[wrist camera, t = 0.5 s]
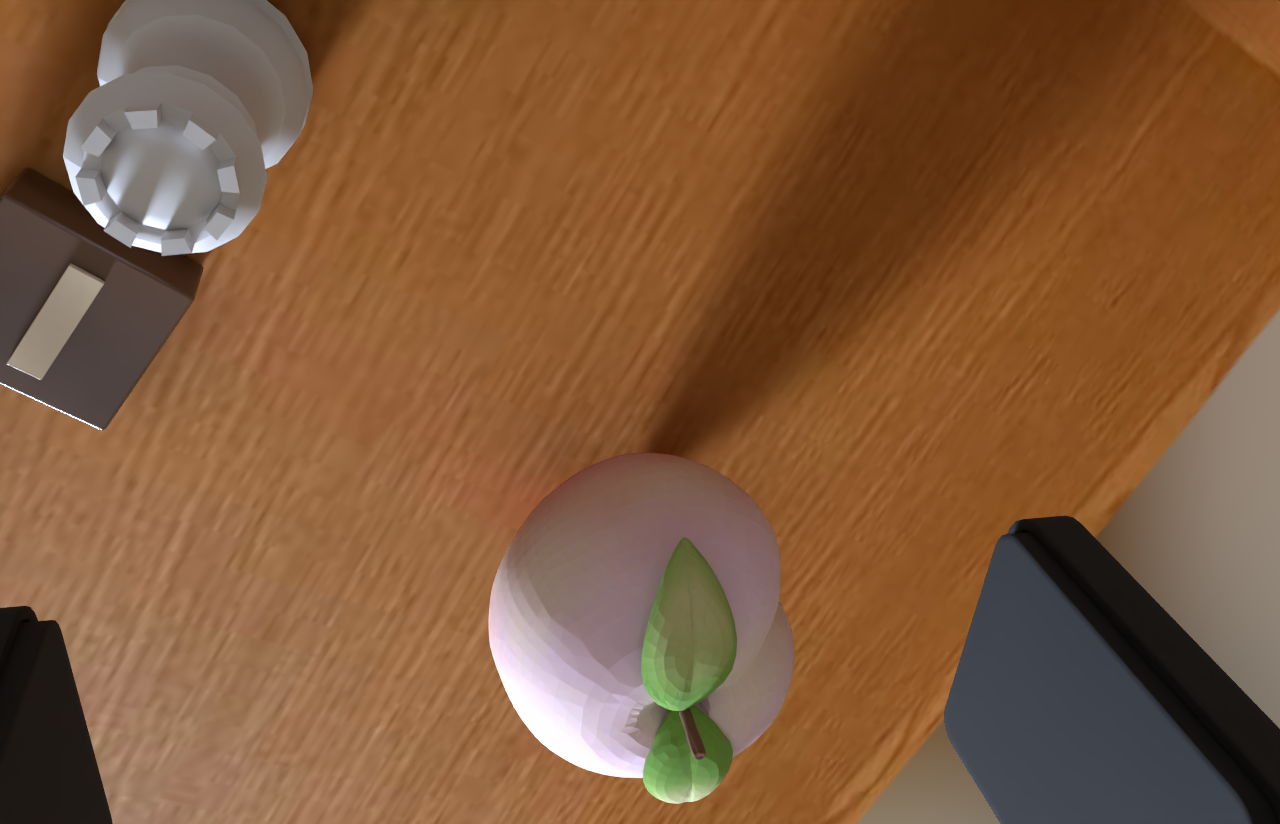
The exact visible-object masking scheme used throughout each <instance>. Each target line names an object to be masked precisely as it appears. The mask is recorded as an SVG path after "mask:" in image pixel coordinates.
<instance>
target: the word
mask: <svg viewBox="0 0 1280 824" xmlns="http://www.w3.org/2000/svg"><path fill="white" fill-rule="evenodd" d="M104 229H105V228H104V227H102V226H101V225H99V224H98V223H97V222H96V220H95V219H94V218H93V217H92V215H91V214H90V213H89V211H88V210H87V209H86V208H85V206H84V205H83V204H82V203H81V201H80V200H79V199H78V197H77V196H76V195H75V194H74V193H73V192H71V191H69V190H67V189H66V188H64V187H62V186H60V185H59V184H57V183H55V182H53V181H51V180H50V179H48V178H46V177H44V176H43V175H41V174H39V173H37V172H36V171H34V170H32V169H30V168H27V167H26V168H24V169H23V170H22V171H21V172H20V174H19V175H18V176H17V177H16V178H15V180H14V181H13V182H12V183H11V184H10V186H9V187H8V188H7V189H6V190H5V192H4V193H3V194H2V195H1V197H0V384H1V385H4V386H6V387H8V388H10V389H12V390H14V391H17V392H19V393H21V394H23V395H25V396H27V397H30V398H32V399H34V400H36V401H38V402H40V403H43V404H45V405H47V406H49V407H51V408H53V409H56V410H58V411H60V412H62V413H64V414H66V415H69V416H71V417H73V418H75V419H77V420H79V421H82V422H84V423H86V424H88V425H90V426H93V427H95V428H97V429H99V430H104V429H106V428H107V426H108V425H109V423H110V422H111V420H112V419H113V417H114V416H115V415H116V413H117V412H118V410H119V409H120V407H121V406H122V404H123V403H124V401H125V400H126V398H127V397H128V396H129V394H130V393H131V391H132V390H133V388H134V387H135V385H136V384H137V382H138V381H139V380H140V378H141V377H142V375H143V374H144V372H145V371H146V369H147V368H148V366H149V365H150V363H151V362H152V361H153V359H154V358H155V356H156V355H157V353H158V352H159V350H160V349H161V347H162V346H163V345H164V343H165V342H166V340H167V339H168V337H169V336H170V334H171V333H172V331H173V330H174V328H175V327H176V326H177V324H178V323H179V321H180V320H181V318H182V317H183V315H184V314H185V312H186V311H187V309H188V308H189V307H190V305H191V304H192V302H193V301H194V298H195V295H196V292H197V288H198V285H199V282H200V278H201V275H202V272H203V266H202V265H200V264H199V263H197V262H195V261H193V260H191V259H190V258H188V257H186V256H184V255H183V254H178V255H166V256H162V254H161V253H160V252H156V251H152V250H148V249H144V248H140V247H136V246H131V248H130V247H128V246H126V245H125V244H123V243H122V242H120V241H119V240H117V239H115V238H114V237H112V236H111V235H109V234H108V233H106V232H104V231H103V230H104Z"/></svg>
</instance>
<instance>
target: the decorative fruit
mask: <svg viewBox="0 0 1280 824" xmlns="http://www.w3.org/2000/svg"><path fill="white" fill-rule="evenodd" d="M780 576H781V568H780V552H779V548H778V545H777V541H776V537H775V534H774V531H773V529H772V527H771V526H770V524H769V522H768V520H767V519H766V517H765V515H764V513H763V512H762V511H761V509H760V508H759V507H758V506H757V505H756V503H755V502H754V501H753V500H752V499H751V498H750V496H749V495H748V494H747V493H746V492H745V491H744V490H742V489H741V488H740V487H739V486H737V485H736V484H735V483H734V482H732V481H731V480H730V479H729V478H727V477H725V476H724V475H722V474H720V473H718V472H717V471H715V470H713V469H711V468H709V467H708V466H705V465H702V464H700V463H697V462H695V461H692V460H690V459H686V458H682V457H678V456H674V455H667V454H659V453H634V454H624V455H621V456H617V457H613V458H610V459H607V460H604V461H601V462H599V463H597V464H594V465H592V466H590V467H588V468H586V469H584V470H582V471H580V472H579V473H577V474H575V475H574V476H572V477H571V478H569V479H568V480H566V481H565V482H564V483H562V484H561V485H560V486H558V487H557V488H556V489H555V490H554V491H552V492H551V493H550V494H549V495H548V496H546V497H545V498H544V499H543V500H542V501H541V502H540V503H539V504H538V505H537V507H536V508H535V509H534V510H533V511H532V512H531V514H530V515H529V516H528V518H527V519H526V520H525V522H524V523H523V525H522V526H521V527H520V529H519V530H518V532H517V534H516V535H515V537H514V539H513V540H512V542H511V544H510V546H509V548H508V550H507V551H506V553H505V555H504V558H503V560H502V562H501V564H500V566H499V569H498V571H497V574H496V577H495V580H494V584H493V587H492V592H491V599H490V608H489V640H490V647H491V651H492V654H493V658H494V661H495V664H496V667H497V669H498V672H499V674H500V677H501V680H502V682H503V685H504V687H505V689H506V692H507V694H508V696H509V698H510V700H511V702H512V704H513V706H514V708H515V709H516V711H517V713H518V714H519V716H520V717H521V719H522V720H523V722H524V723H525V724H526V726H527V727H528V728H529V729H530V731H531V732H532V733H533V735H534V736H535V737H536V738H537V739H538V740H539V741H540V742H541V743H542V744H544V745H545V746H546V747H547V748H549V749H550V750H551V751H552V752H554V753H555V754H557V755H559V756H560V757H562V758H564V759H565V760H567V761H569V762H571V763H573V764H575V765H577V766H579V767H582V768H584V769H587V770H590V771H593V772H596V773H600V774H604V775H609V776H616V777H630V778H643V782H644V784H645V787H646V788H647V790H648V791H649V792H650V793H651V794H652V795H653V796H655V797H656V798H657V799H659V800H662V801H665V802H668V803H682V802H693V801H697V800H699V799H702V798H704V797H705V796H707V795H708V794H710V793H711V792H712V791H713V790H714V789H716V787H717V786H718V785H719V784H720V783H721V781H722V780H723V778H724V777H725V775H726V774H727V772H728V770H729V767H730V765H731V762H732V758H733V757H734V756H736V755H737V754H739V753H740V752H742V751H743V750H744V749H746V748H747V747H748V746H749V745H751V744H752V743H753V742H754V741H755V740H756V739H757V738H758V737H759V736H761V735H762V734H763V733H764V732H765V730H766V729H767V728H768V727H769V726H770V725H771V724H772V722H773V721H774V720H775V718H776V716H777V715H778V713H779V711H780V709H781V706H782V704H783V702H784V699H785V697H786V694H787V691H788V688H789V685H790V681H791V676H792V671H793V663H794V645H793V637H792V630H791V627H790V624H789V622H788V619H787V616H786V614H785V611H784V609H783V607H782V605H781V603H780V602H779V596H780Z"/></svg>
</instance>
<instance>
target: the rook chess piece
mask: <svg viewBox="0 0 1280 824" xmlns="http://www.w3.org/2000/svg"><path fill="white" fill-rule="evenodd" d="M97 76H98V80H99V83H100V87H98V88H96V89H94V90H92V91H90V92H89V94H88V95H87V96H86V98H85V99H84V100H83V102H82V103H81V104H80V106H79V107H78V108H77V110H76V111H75V113H74V114H73V115H72V117H71V118H70V119H69V121H68V127H67V133H66V140H65V146H64V153H63V158H64V162H65V165H66V168H67V172H68V175H69V178H70V182H71V185H72V189H73V192H74V194H75V195H76V196H77V197H78V199H79V200H80V201H81V203H82V204H83V205H84V206H85V208H86V209H87V210H88V211H89V213H90V214H91V215H92V217H93V218H94V219H95V220H96V222H97V223H98V224H99V225H101V226H102V227H104V228H105V229H104V230H103V231H104V232H106V233H108V234H109V235H111V236H112V237H114V238H115V239H117V240H119V241H120V242H122V243H123V244H125V245H126V246H128V247H130V248H131V246H136V247H140V248H144V249H148V250H152V251H156V252H160V253H161V254H162V256H166V255H178V254H189V253H200V252H208V251H210V250H212V249H214V248H216V247H218V246H220V245H222V244H224V243H226V242H228V241H230V240H232V239H234V238H236V237H238V236H239V235H240V234H241V233H242V231H243V230H244V229H245V228H246V226H247V225H248V224H249V223H250V222H251V220H252V219H253V218H254V217H255V215H256V214H257V213H258V212H259V211H260V206H261V202H262V198H263V194H264V190H265V186H266V182H267V173H266V169H267V168H269V167H271V166H273V165H275V164H277V163H278V162H279V161H280V160H281V158H282V157H283V156H284V155H285V153H286V152H287V151H288V150H289V149H290V147H291V146H292V145H293V144H294V142H295V141H296V140H297V139H298V137H299V136H300V134H301V130H302V129H303V128H304V126H305V122H306V118H307V114H308V110H309V106H310V102H311V99H312V95H313V85H312V79H311V73H310V67H309V61H308V55H307V51H306V50H305V48H304V46H303V45H302V43H301V41H300V39H299V38H298V36H297V34H296V33H295V31H294V29H293V28H292V26H291V24H290V23H289V21H288V19H287V18H286V16H285V15H284V14H283V13H281V12H280V11H279V10H278V9H277V8H275V7H274V6H273V5H272V4H270V3H269V2H268V1H267V0H125V1H124V3H123V4H122V6H121V7H120V8H119V10H118V11H117V12H116V14H115V15H114V16H113V18H112V19H111V21H110V22H109V23H108V26H107V30H106V31H105V33H104V34H103V38H102V44H101V50H100V56H99V63H98V69H97Z"/></svg>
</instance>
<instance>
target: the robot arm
mask: <svg viewBox="0 0 1280 824" xmlns="http://www.w3.org/2000/svg"><path fill="white" fill-rule="evenodd" d="M944 722H945V727H946V732H947V735H948V737H949V740H950V742H951V744H952V745H953V747H954V749H955V750H956V752H957V753H958V755H959V757H960V758H961V760H962V762H963V763H964V765H965V767H966V768H967V770H968V771H969V773H970V774H971V776H972V778H973V779H974V781H975V783H976V784H977V786H978V787H979V789H980V791H981V792H982V794H983V795H984V797H985V799H986V801H987V802H988V804H989V805H990V807H991V809H992V810H993V812H994V814H995V815H996V817H997V818H998V820H999V822H1000V823H1001V824H1280V729H1279V728H1278V727H1277V726H1276V725H1275V724H1274V723H1273V722H1272V720H1271V719H1270V718H1269V717H1268V716H1267V715H1266V714H1265V713H1264V712H1263V711H1262V710H1261V709H1260V708H1259V707H1258V706H1257V705H1256V704H1255V703H1254V702H1253V701H1252V700H1251V699H1250V698H1249V697H1248V696H1247V695H1246V694H1245V693H1244V692H1243V691H1242V690H1241V688H1239V686H1238V685H1237V684H1236V683H1235V682H1234V681H1233V680H1232V679H1231V678H1230V677H1229V676H1228V675H1227V674H1226V673H1225V672H1224V671H1223V670H1222V669H1221V668H1220V667H1219V666H1218V665H1217V664H1216V663H1215V662H1214V661H1213V660H1212V659H1211V657H1210V656H1209V655H1208V654H1207V653H1206V652H1205V651H1204V650H1203V649H1202V648H1201V647H1200V646H1199V645H1198V644H1197V643H1196V642H1195V641H1194V640H1193V639H1192V638H1191V637H1190V636H1189V635H1188V634H1187V633H1186V632H1185V631H1184V630H1183V629H1182V628H1181V626H1180V625H1179V624H1178V623H1177V622H1176V621H1175V620H1174V619H1173V618H1172V617H1171V616H1170V615H1169V614H1168V613H1167V612H1166V611H1165V610H1164V609H1163V608H1162V607H1161V606H1160V605H1159V604H1158V603H1157V602H1156V601H1155V600H1154V599H1153V598H1152V597H1151V596H1150V594H1149V593H1147V591H1146V590H1145V589H1144V588H1143V587H1142V586H1141V585H1140V584H1139V583H1138V582H1137V581H1136V580H1135V579H1134V578H1133V577H1132V576H1131V575H1130V574H1129V573H1128V572H1127V571H1126V570H1125V569H1124V568H1123V567H1122V566H1121V564H1119V562H1118V561H1117V560H1116V559H1115V558H1114V557H1113V556H1112V555H1111V554H1109V552H1108V551H1107V550H1106V549H1105V548H1104V547H1103V546H1102V545H1101V544H1100V543H1099V542H1098V541H1097V540H1096V539H1095V538H1094V537H1093V536H1092V535H1091V533H1090V532H1089V531H1088V530H1087V529H1086V528H1085V527H1084V526H1083V525H1082V524H1081V523H1080V522H1078V521H1077V520H1076V519H1074V518H1073V517H1069V516H1057V517H1045V518H1033V519H1023V520H1019V521H1016V522H1015V523H1014V524H1013V525H1012V526H1011V527H1010V529H1009V531H1008V534H1006V535H1002V536H1001V537H1000V538H999V539H998V541H997V543H996V546H995V549H994V552H993V555H992V558H991V562H990V565H989V568H988V571H987V574H986V578H985V581H984V584H983V587H982V591H981V594H980V597H979V600H978V603H977V607H976V610H975V613H974V616H973V619H972V623H971V626H970V629H969V632H968V636H967V639H966V642H965V645H964V648H963V652H962V655H961V658H960V661H959V664H958V668H957V671H956V674H955V677H954V681H953V684H952V687H951V690H950V693H949V697H948V700H947V703H946V706H945V712H944ZM0 824H112V818H111V814H110V810H109V807H108V803H107V799H106V795H105V792H104V788H103V784H102V781H101V777H100V773H99V769H98V766H97V762H96V758H95V755H94V751H93V747H92V743H91V740H90V736H89V732H88V729H87V725H86V721H85V717H84V714H83V710H82V706H81V703H80V699H79V695H78V691H77V688H76V684H75V680H74V677H73V673H72V669H71V665H70V662H69V658H68V654H67V651H66V647H65V643H64V639H63V636H62V632H61V629H60V627H59V624H58V623H57V622H56V621H54V620H48V621H38V620H37V617H36V615H35V612H34V611H33V610H32V609H31V607H28V606H19V607H7V608H0Z"/></svg>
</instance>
